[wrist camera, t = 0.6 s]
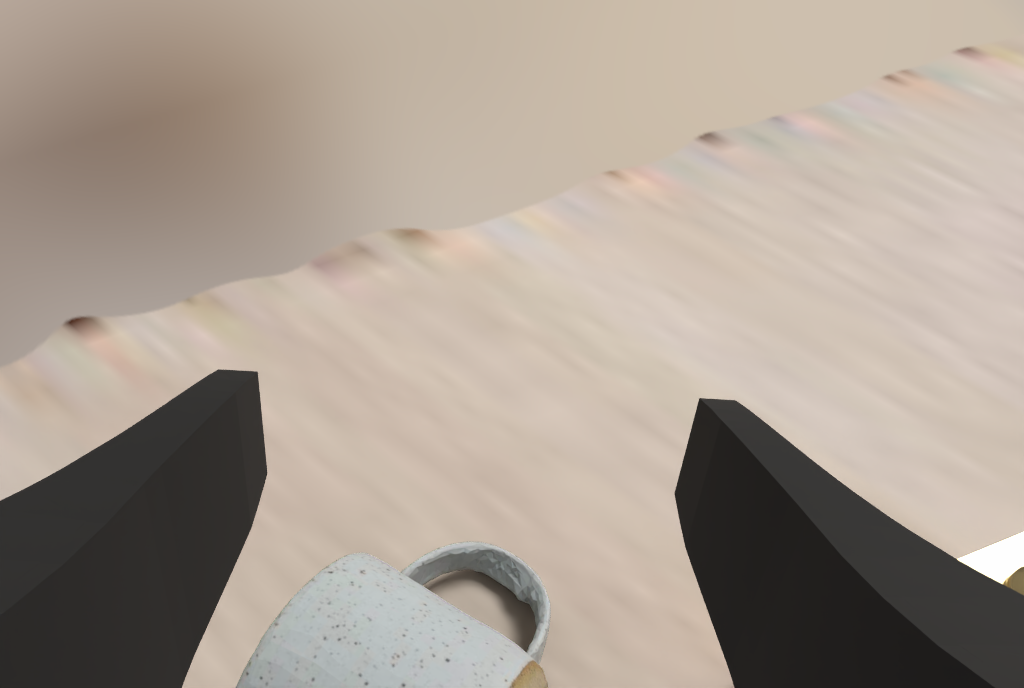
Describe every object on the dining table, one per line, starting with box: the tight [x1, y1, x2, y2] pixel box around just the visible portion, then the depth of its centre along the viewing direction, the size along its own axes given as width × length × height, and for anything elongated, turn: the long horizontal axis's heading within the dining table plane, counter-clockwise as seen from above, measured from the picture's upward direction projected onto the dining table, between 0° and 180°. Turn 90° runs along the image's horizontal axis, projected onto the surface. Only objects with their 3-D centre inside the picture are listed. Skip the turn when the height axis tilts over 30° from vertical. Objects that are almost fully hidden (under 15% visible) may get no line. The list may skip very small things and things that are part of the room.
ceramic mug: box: [236, 542, 550, 688], centre depth 24 cm, size 11×8×8 cm
